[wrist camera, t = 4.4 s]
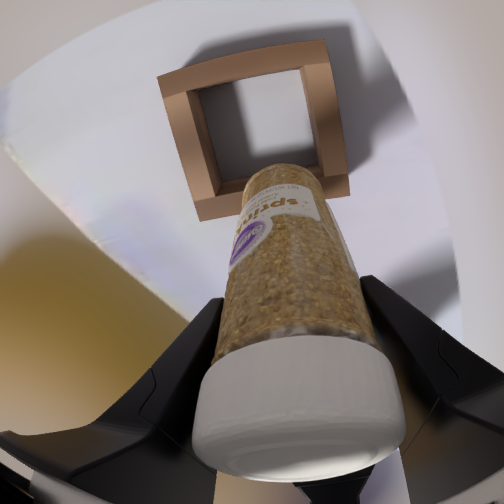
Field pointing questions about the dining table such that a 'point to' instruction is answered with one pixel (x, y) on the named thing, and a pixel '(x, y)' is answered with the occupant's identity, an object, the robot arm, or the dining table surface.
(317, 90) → the walnut socket
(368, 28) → the dining table surface
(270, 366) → the sprinkles bottle
